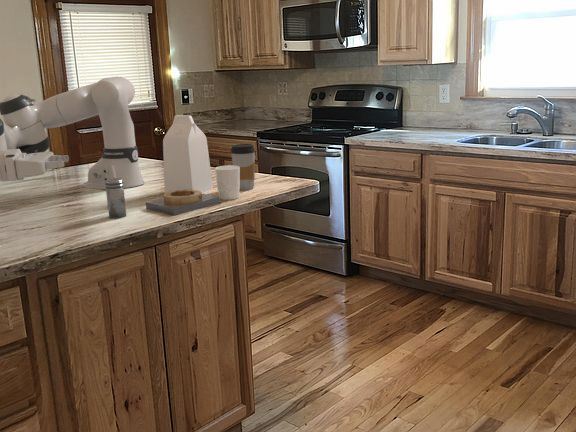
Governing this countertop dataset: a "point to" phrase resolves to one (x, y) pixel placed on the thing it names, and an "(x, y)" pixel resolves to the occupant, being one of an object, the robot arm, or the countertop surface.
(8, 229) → the countertop surface
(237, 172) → the white cup
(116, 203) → the salt shaker
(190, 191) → the ring block
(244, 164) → the coffee cup
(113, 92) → the robot arm
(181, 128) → the milk
